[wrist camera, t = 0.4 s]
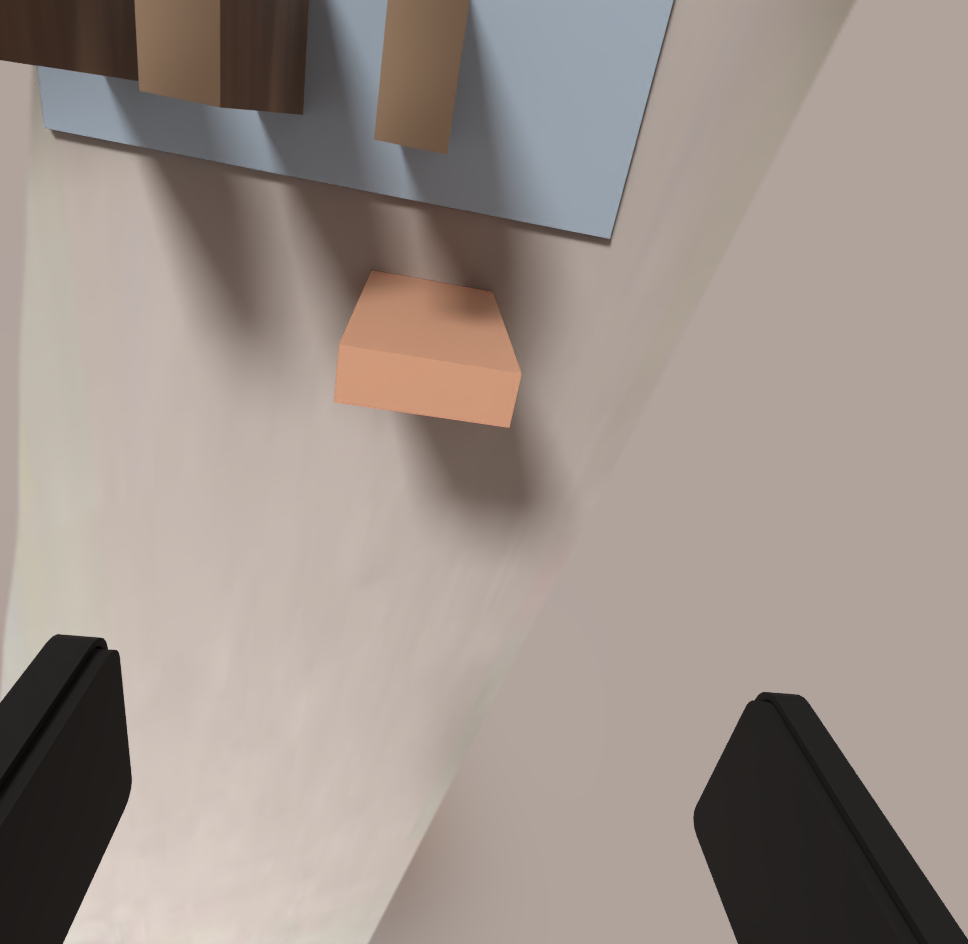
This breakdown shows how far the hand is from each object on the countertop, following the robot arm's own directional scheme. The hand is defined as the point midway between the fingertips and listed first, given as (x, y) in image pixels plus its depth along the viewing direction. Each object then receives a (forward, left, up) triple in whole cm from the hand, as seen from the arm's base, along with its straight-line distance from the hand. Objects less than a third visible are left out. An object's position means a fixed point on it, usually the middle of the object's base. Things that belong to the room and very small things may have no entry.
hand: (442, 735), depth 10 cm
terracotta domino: (0, 0, -26) cm, 26 cm away
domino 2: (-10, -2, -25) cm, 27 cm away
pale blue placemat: (-10, -5, -26) cm, 28 cm away
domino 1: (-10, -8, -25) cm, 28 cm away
